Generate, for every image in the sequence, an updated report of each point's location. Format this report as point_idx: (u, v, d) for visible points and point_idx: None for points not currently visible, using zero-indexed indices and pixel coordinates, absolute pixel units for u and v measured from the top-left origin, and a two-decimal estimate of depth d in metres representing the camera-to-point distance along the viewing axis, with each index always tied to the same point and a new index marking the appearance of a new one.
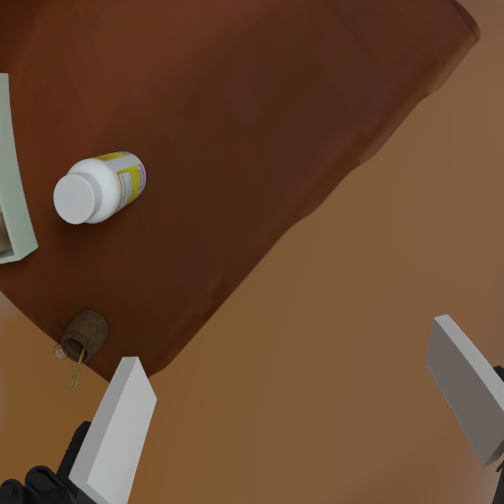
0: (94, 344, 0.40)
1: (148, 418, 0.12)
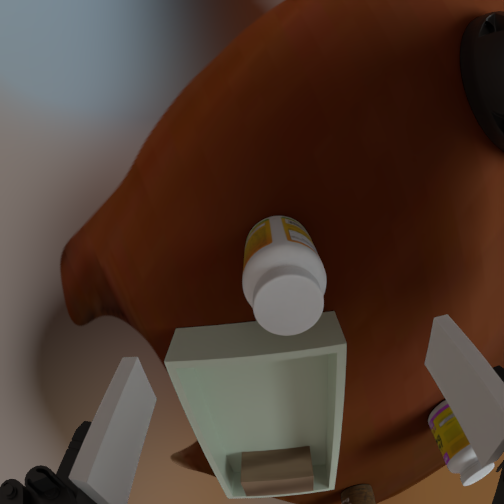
0: None
1: (148, 418, 0.12)
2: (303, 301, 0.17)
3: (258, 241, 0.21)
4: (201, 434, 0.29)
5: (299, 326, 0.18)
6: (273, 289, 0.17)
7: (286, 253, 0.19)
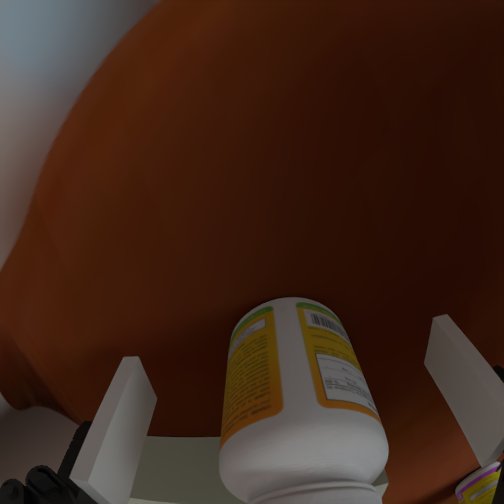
0: None
1: (149, 418, 0.12)
2: None
3: (251, 385, 0.09)
4: None
5: None
6: None
7: (317, 448, 0.07)
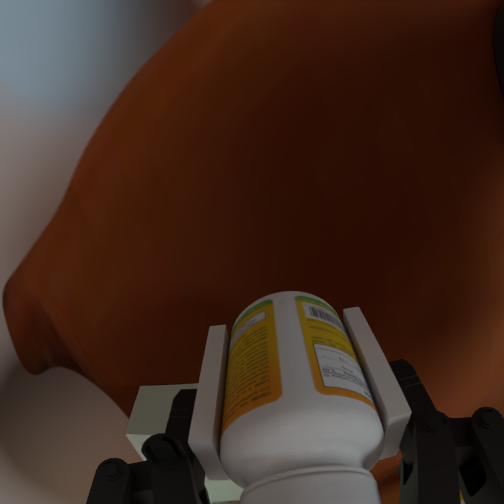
0: None
1: None
2: None
3: (252, 373, 0.10)
4: None
5: None
6: None
7: (315, 433, 0.07)
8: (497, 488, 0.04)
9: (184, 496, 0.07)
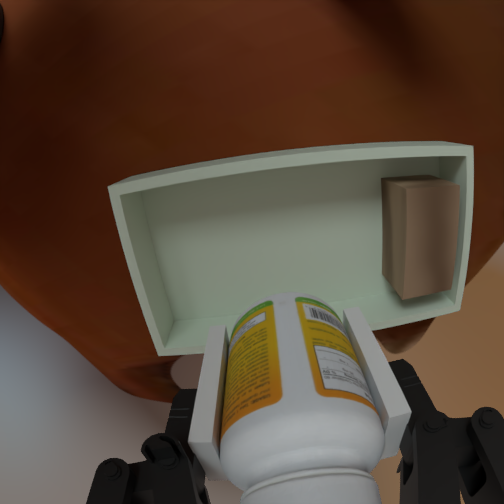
0: None
1: None
2: None
3: (252, 375, 0.10)
4: None
5: None
6: None
7: (315, 435, 0.07)
8: (497, 488, 0.04)
9: (184, 496, 0.07)
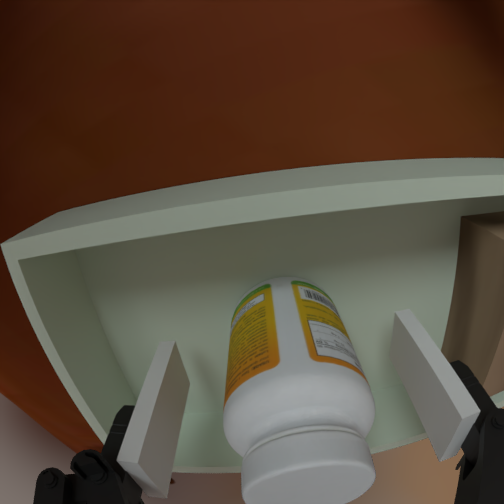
0: None
1: (184, 401, 0.13)
2: (339, 486, 0.07)
3: (252, 346, 0.11)
4: None
5: None
6: (282, 481, 0.07)
7: (310, 395, 0.08)
8: None
9: None
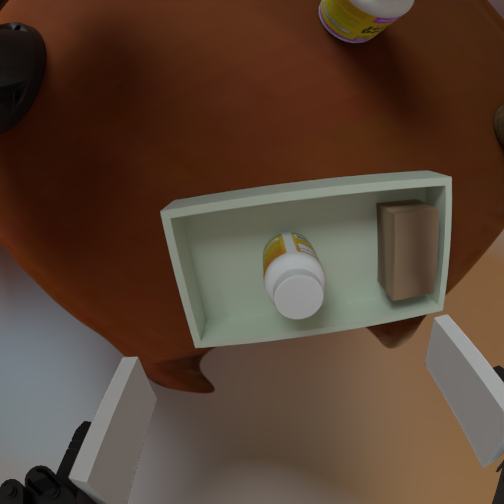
0: None
1: (148, 418, 0.12)
2: (309, 294, 0.25)
3: (275, 251, 0.29)
4: (292, 333, 0.32)
5: (306, 312, 0.25)
6: (288, 285, 0.24)
7: (297, 260, 0.26)
8: None
9: None
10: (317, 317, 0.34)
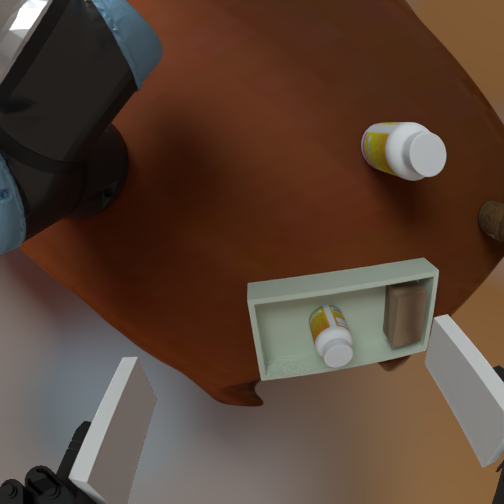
0: None
1: (148, 418, 0.12)
2: (344, 354, 0.39)
3: (321, 323, 0.43)
4: (327, 368, 0.47)
5: (342, 363, 0.40)
6: (333, 350, 0.39)
7: (337, 333, 0.40)
8: None
9: None
10: None
